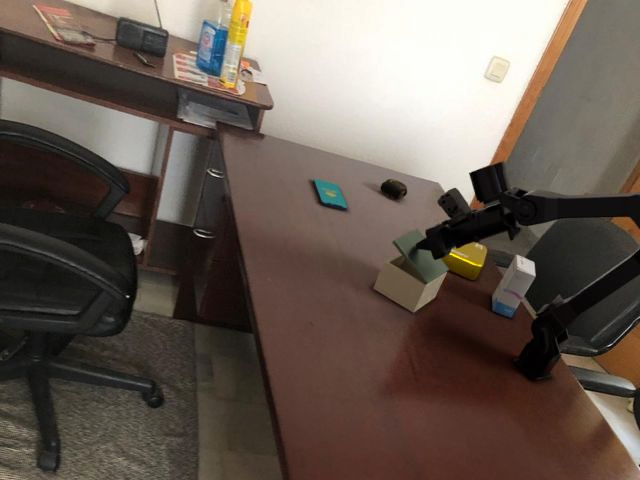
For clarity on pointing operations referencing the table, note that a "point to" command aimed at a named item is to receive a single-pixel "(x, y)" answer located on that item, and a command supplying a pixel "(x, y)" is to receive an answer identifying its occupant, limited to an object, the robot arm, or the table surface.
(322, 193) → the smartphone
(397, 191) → the tape measure
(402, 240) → the lid
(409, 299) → the tin
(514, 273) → the ink box
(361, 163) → the table surface
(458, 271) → the element tile
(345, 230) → the table surface
